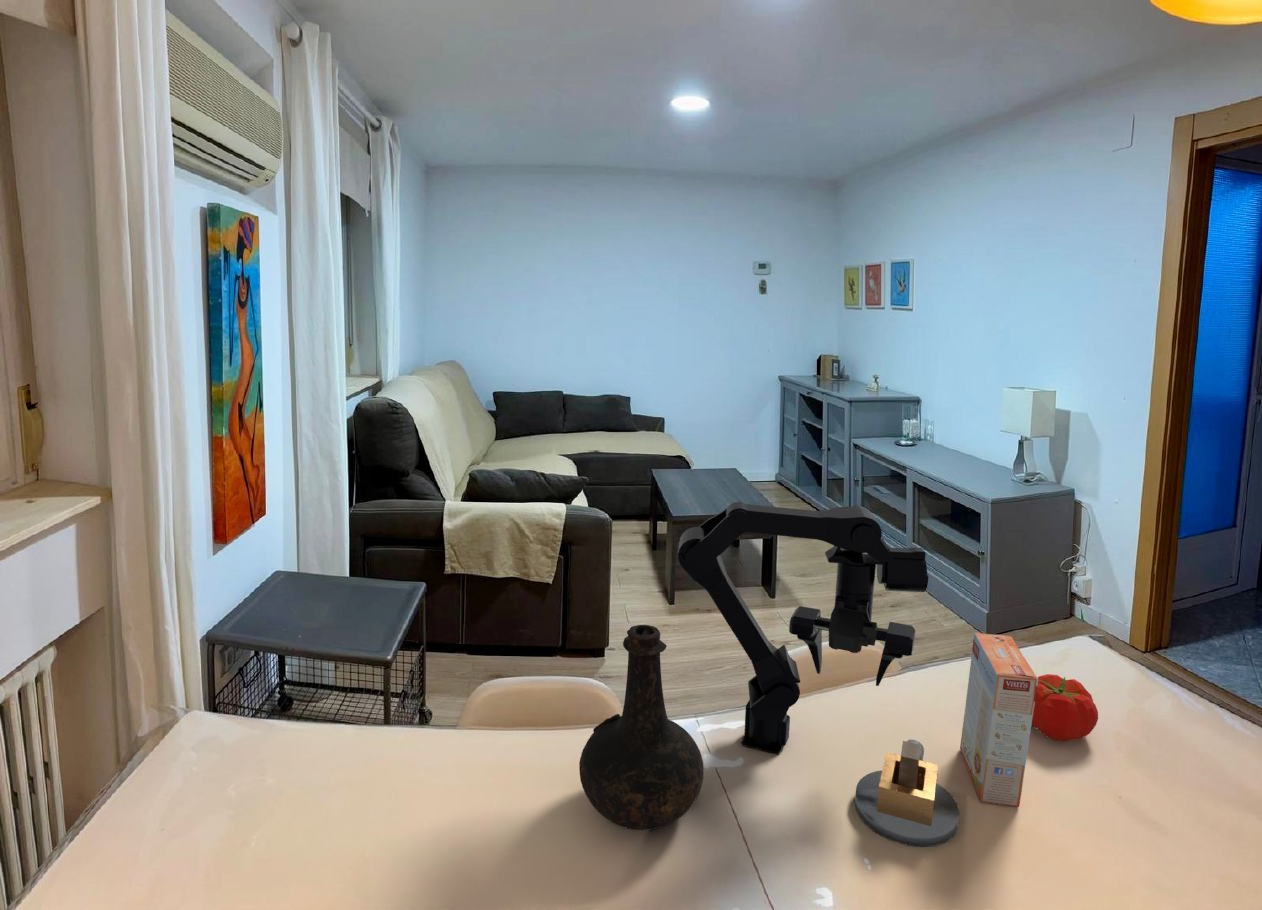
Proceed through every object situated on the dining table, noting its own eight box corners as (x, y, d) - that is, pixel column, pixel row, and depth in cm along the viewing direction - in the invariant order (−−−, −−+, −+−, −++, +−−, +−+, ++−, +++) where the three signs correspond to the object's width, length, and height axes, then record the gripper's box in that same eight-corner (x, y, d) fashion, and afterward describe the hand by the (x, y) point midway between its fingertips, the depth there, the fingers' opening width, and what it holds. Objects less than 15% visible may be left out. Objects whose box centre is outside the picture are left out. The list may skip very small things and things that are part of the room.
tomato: (1019, 702, 141) (1025, 659, 140) (1098, 725, 134) (1105, 680, 132) (1005, 734, 131) (1011, 688, 129) (1089, 760, 124) (1097, 712, 122)
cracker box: (1022, 809, 113) (1040, 678, 108) (978, 803, 114) (994, 673, 109) (998, 753, 126) (1013, 634, 121) (958, 748, 127) (972, 630, 123)
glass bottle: (640, 754, 125) (642, 591, 118) (728, 808, 112) (735, 629, 106) (553, 805, 112) (551, 627, 106) (641, 872, 100) (644, 674, 94)
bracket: (847, 828, 108) (850, 790, 107) (865, 759, 124) (868, 726, 122) (955, 858, 103) (960, 819, 101) (960, 783, 118) (964, 748, 117)
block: (895, 806, 110) (900, 755, 108) (898, 789, 114) (902, 740, 112) (913, 810, 109) (919, 760, 107) (915, 793, 113) (920, 744, 111)
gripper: (783, 596, 118) (778, 689, 122) (913, 618, 111) (903, 717, 114) (799, 572, 128) (794, 658, 131) (919, 591, 121) (910, 682, 124)
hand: (847, 678), depth 125 cm, fingers open, 9 cm apart
